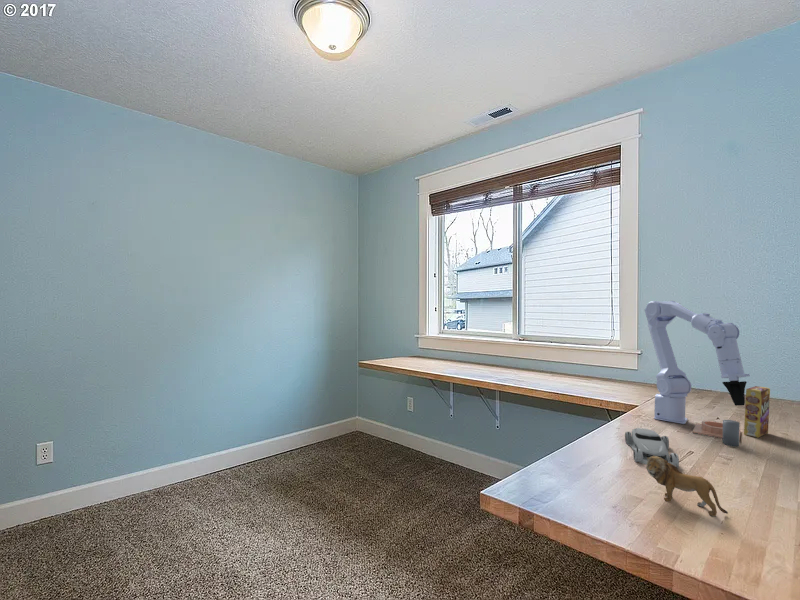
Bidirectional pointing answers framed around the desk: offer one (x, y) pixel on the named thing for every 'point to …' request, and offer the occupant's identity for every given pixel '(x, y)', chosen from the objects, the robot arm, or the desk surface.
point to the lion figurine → (682, 482)
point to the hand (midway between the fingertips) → (739, 405)
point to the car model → (649, 446)
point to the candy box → (757, 411)
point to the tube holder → (710, 429)
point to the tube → (731, 433)
